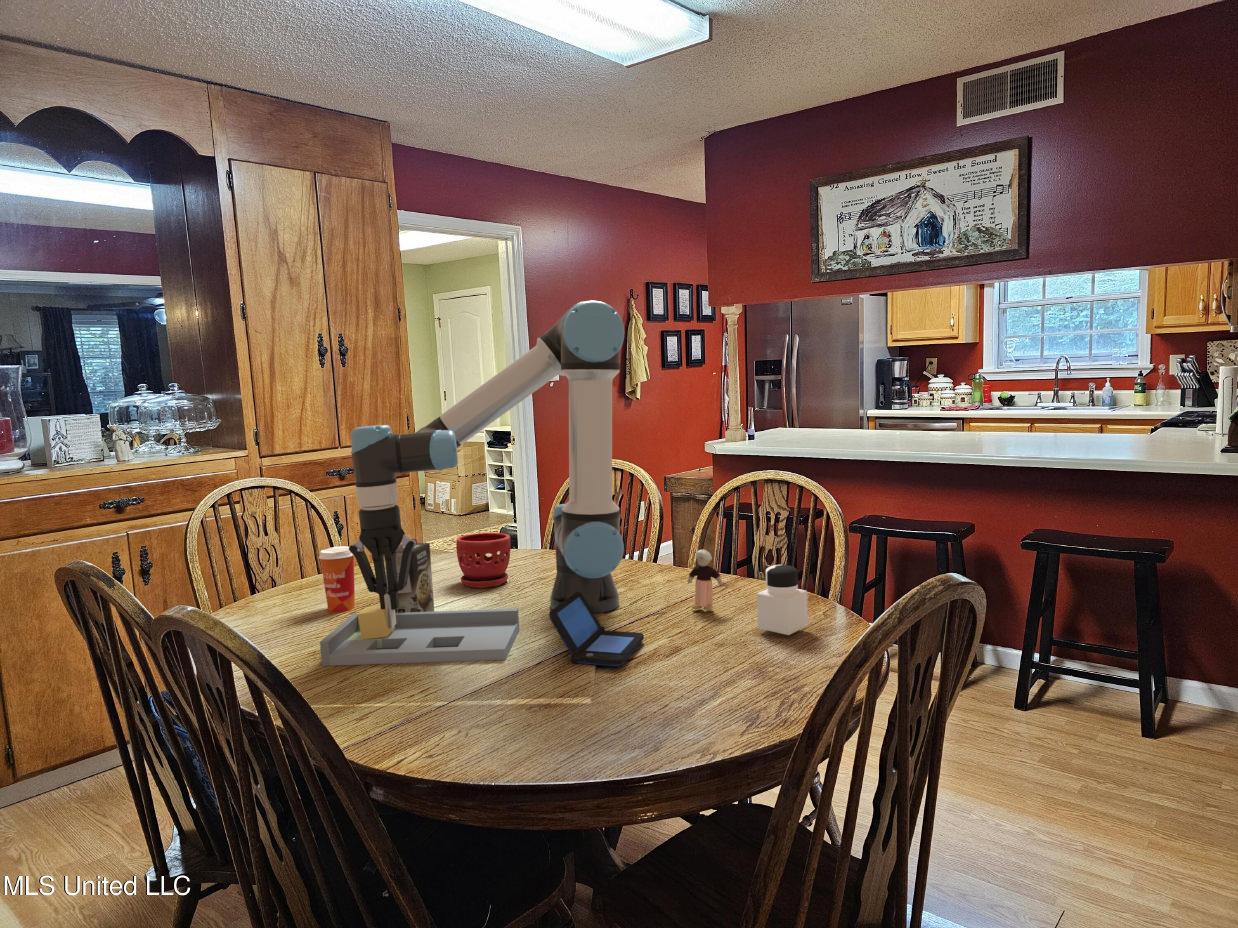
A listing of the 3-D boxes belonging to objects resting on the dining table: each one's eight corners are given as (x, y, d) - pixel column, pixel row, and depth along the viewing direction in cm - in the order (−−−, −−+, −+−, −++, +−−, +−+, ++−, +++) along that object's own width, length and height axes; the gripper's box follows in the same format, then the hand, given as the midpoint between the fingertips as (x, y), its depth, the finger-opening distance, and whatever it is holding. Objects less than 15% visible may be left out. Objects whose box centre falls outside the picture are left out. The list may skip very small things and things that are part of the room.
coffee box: (417, 628, 165) (411, 551, 163) (388, 627, 166) (382, 551, 164) (436, 615, 174) (430, 542, 172) (408, 614, 175) (403, 542, 173)
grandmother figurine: (686, 610, 169) (683, 551, 167) (688, 605, 173) (686, 547, 171) (722, 611, 167) (720, 551, 166) (724, 605, 171) (722, 547, 169)
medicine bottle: (808, 625, 155) (807, 565, 154) (789, 635, 150) (787, 573, 149) (776, 619, 160) (775, 560, 159) (756, 628, 155) (755, 568, 154)
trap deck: (519, 630, 161) (518, 608, 160) (505, 659, 144) (503, 635, 144) (354, 635, 162) (352, 614, 161) (322, 665, 145) (319, 641, 145)
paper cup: (316, 614, 178) (310, 552, 177) (340, 604, 185) (334, 545, 184) (344, 616, 175) (338, 554, 174) (367, 606, 182) (362, 546, 181)
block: (394, 628, 158) (391, 603, 158) (387, 636, 154) (383, 611, 153) (370, 631, 159) (366, 606, 158) (361, 639, 154) (357, 614, 153)
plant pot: (508, 589, 192) (505, 540, 190) (453, 591, 192) (450, 542, 191) (516, 575, 205) (513, 529, 203) (465, 577, 205) (461, 531, 204)
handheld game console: (620, 669, 138) (618, 617, 137) (549, 663, 142) (546, 613, 141) (645, 639, 153) (643, 591, 152) (580, 635, 157) (577, 589, 156)
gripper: (416, 500, 157) (428, 617, 159) (353, 505, 157) (366, 621, 160) (405, 507, 149) (418, 629, 152) (339, 512, 150) (353, 634, 152)
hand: (391, 625), depth 156 cm, fingers closed
